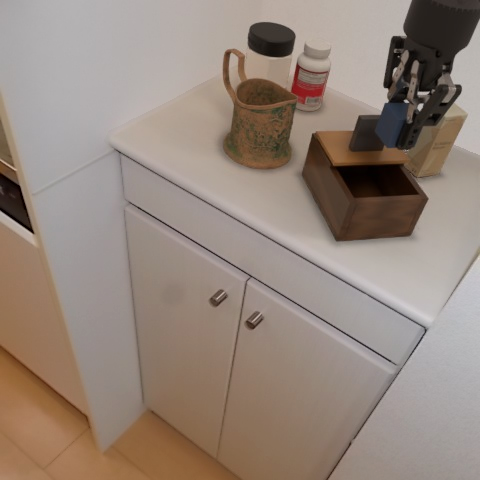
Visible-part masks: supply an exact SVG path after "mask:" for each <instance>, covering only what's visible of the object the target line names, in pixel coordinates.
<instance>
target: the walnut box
mask: <svg viewBox="0 0 480 480" xmlns="http://www.w3.org/2000/svg"><path fill="white" fill-rule="evenodd" d="M315 133H316V132H312V133H311V137H310V141H309V145H308V149H307V153H306V156H305V161H304V164H303V167H302V171H301V177H302V178H303V180H304V182H305V184H306V186H307V187H308V190H309V191H310V193H311V196H312V197H313V199H314V201H315V203H316V205H317V207H318V208H319V211H320V212H321V214H322V216H323V218H324V221H325V222H326V224H327V225H328V228H329V230H330V231H331V233H332V235H333V237H334V239H335V241H336V242H346V241H349V242H350V241H361V240H374V239H386V238H387V239H388V238H401V237H411V236H412V234H413V231H414V230H415V228H416V226H417V224H418V221H419V220H420V218H421V216H422V213H423V212H424V210H425V208H426V205H427V203H428V202H429V197H428V195H427V193H425V192H424V190H423V188H422V187H421V186H420V184H419V183H418V182H417V180H416V179H415V178H414V175H413V174H412V173H411V172H410V171H409V170H408V169H407V168H406V167H405V166H404V164H405V163H402V164H374V165H347V166H333V164H332V162H331V161H330V159H329V157H328V155H327V154H326V152H325V150H324V149H323V147H322V145H321V144H320V142H319V140H318V139H317V137H316V135H315Z"/></svg>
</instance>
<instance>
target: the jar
mask: <svg viewBox="0 0 480 480" xmlns="http://www.w3.org/2000/svg"><path fill="white" fill-rule="evenodd" d="M296 38H297V35H296V32H295V31H294V30H293V29H291V28H290V27H288V26H286V25H284V24H280V23H278V22H271V21H259V22H255V23H253V24H251V25H250V26H249V30H248V32H247V44H246V45H247V46H246V53H245V62H244V70H245V75H246V78H247V79H251V78H262V79H266V80H270V81H272V82H275V83H277V84H279V85H280V86H282V87H283V88H285V89H287V87H288V83H289V82H288V81H289V77H290V70H291V66H292V62H293V52H294V47H295V44H296Z"/></svg>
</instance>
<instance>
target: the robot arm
mask: <svg viewBox="0 0 480 480" xmlns="http://www.w3.org/2000/svg"><path fill="white" fill-rule="evenodd" d="M479 22H480V0H411V1H410V4H409V7H408V9H407V12H406V16H405V18H404V22H403V25H402V30H403V33H404V35H392V37H391V39H390V43H389V48H388V53H387V59H386V65H385V71H384V77H383V82H382V85H383V88H384V89H387V90H388V91H387V93H386V98H387V100H388V101H387V103H406V101H407V102H408V103H409V107H408V111H407V115H406V120H405V121H404V123H403V126H402V128H401V131H400V133H399V136H398V138H397V141H396V143H395V146H396V148H397V149H398V150H404V151H408V150H409V149H411V148H412V147H413V146H414V145H415V142H416V140H417V138H418V135H419V133H420V131H421V128H422V126H436V125H437V124H438V123H439V121H440V120H441V119H442V117H443V116H444V115H445V114H446V112H447V111H448V110H449V108H450V107H451V106H452V105H453V103H455V102H456V101H457V99H458V98H459V97H460V95H461V94H462V92H463V85H462V84H460V83H455V84H454V81H453V79H452V77H451V75H452V72H453V68H454V62H455V58H456V56H457V55H458V54H459V53H460V52H461V51H462V50H464V49H466V48H467V47H468V46H469V45H470V42H471V41H472V38H473V35H474V33H475V31H476V29H477V27H478V24H479ZM394 70H395V71H394ZM419 93H427V94H419ZM419 105H422V107H421V109H420V110H419V111H420V112H419V113H416V112H417V109H419ZM430 114H432V115H430Z"/></svg>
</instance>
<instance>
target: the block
mask: <svg viewBox="0 0 480 480" xmlns="http://www.w3.org/2000/svg"><path fill="white" fill-rule="evenodd" d="M408 107H409V102H405V103H388V102H385V103H384V104H383V107H382V110H381V113H380V114H379V115H380V118H379V121H378V124H377V126H376V129H375V132H376V134H377V135H378V136H379V138H380V139H381V141H382V142H383V143H384V145H385V146H386V147H387V148H396V146H395V143H396V141H397V138H398V136H399V133H400V131H401V128H402V126H403V123H404V121H405V120H406V115H407V111H408ZM419 112H420V110H419V108H417V112H416V113H419ZM422 128H423V126H422ZM422 128H421V131H422ZM421 131H420V133H421ZM420 133H419V135H420ZM419 135H418V138H419ZM418 138H417V140H418ZM417 140H416V142H417ZM416 142H415V145H416ZM415 145H414V146H413V147H412V148H414V147H415Z"/></svg>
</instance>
